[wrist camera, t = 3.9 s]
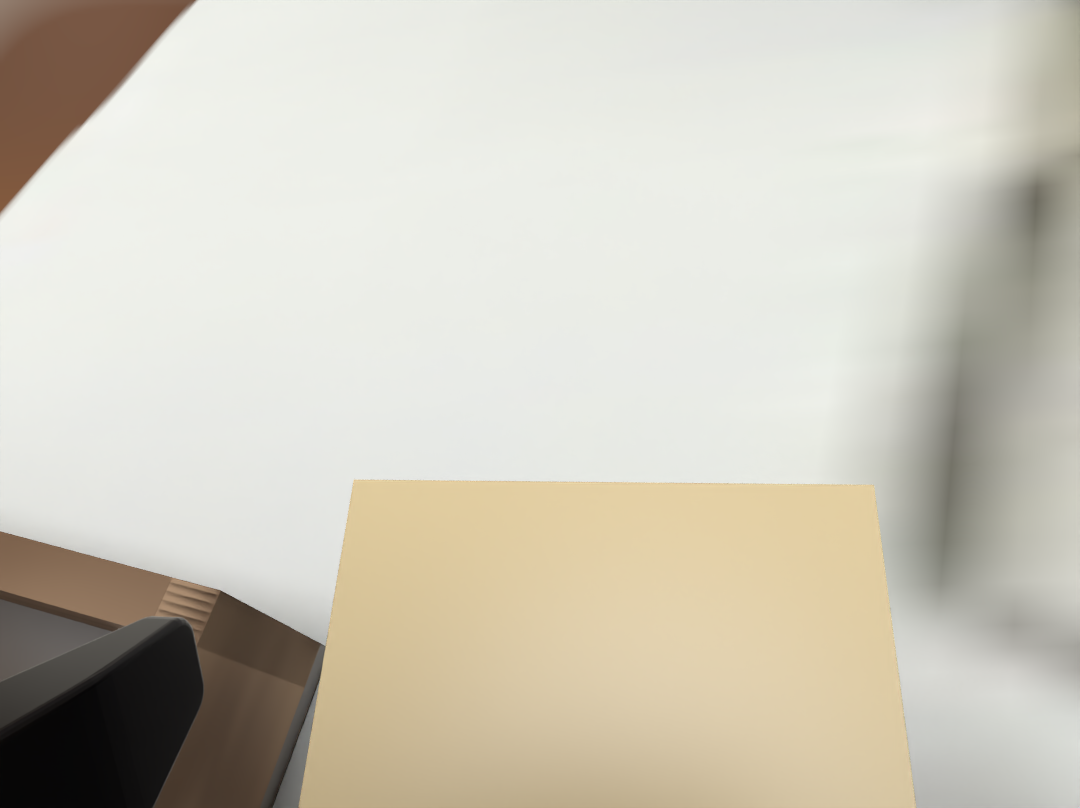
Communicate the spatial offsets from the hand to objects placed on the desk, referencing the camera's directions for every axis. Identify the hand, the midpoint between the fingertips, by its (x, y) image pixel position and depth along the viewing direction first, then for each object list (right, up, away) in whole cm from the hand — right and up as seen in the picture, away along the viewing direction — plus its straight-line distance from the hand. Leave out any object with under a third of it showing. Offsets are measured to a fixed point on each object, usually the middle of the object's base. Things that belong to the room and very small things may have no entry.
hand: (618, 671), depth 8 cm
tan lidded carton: (+1, -4, +6) cm, 7 cm away
